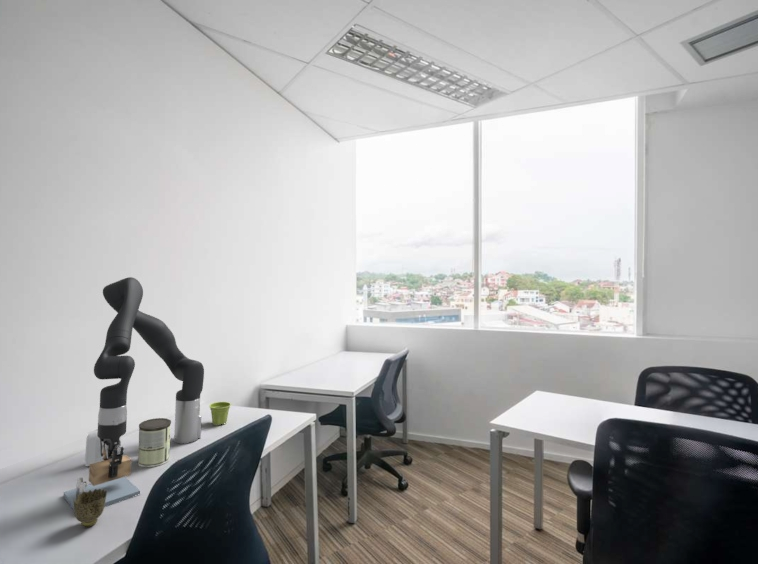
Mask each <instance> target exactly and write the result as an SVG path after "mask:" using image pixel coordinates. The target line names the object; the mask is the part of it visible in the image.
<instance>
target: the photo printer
mask: <svg viewBox="0 0 758 564" xmlns="http://www.w3.org/2000/svg"><path fill="white" fill-rule="evenodd" d="M87 433H88V435H86V440H85V454H84V455H85V459H84V466H85V467H90V464H93V463H97V462H101V461H104V460H103V459H102V458H103V456H102V457H101V448H100V438H99V437H98V436H97V433H98V428H97V429H94V430H91V431H89V432H87ZM119 440H120V441H121V437H120V438H119Z"/></svg>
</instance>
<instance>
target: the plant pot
mask: <svg viewBox="0 0 758 564" xmlns="http://www.w3.org/2000/svg"><path fill="white" fill-rule="evenodd" d="M231 405H232V404H231V402H227V401H217V402H212V403H210V404H209V406H208V407H209V408H210V411H211V412H210V414H211V420H212V425H214V426H220V425H221V424H224V423H226V422H227V421H228V416H229V410H230V408H231ZM227 423H228V422H227ZM227 423H226V424H227ZM224 425H225V424H224ZM221 426H222V425H221Z"/></svg>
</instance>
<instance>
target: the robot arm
mask: <svg viewBox="0 0 758 564" xmlns="http://www.w3.org/2000/svg"><path fill="white" fill-rule="evenodd" d="M102 295H103V297H104V300H105V301H106V303H107V304H108V305H109V306H110V307H111V308H112V309H113V310H114V311H115V312H116V313H117V314H116V315H115V317H114V318H113V319H112V320H111V322H110V324H109V326H108V328H107V332H106V337H105V344H104V345H103V348H102V351H101V353H100V354H99V356H98V358H97V360H96V361H95V363H94V367H93V374H94V376H95V377H96V378H97V379H98V380H119V379H120V381H118V382H117V383H115V384H110V385H107V386H104V387H103V388H102V389H101V390H100V393H99V410H98V414H97V415H98V416H97V429H98V433H97V436H98V437H99V438H100V448H101V457H102V456H103V458H102V459H103V460H104V461H105V460H108V459H109V478H114V477H116V476H117V473H118V465H120V464H121V462H122V456H124V449H125V448H124V446H121V445H122V444H121V443H122V442H121V437H122V436H124V435H125V434H126V432H127V419H128V408H127V401H128V400H127V398H128V388H129V384H130V382H131V378H132V376H133V373H134V370H135V366H136V362H135V359H134V358H133V357H132V356H130V355H125V354H127V353H128V352H129V351H130V349H131V345H132V336H133V335H132V334H133V329H134V330H135V332H136V333H137V334H138V335H139V336H140V337H141V338H142V340H143V341H144V342H145V343H146V344H147V345H148V347H150V348H151V350H153V352H155V354H157V356H158V357H159V358H160V359H161V360H162V361H163V362H164V363H165V364H166V366H167V368H168V369H169V370H170V372H171V374H172V375H173V377H175V379H177V380H179V381H180V382H182V384H181V385H182V386H181V389H179V390H178V391H176V393H175V406H174V407H175V408H174V409H175V410H174V411H175V413H174V431H173V432H174V433H173V441H174V443H176V444H179V445H180V444H183V443H184V444H190V443H189V442H191V443H194V442H196V441H197V440H199V439H198V438H200V439H202V438H201V437H202V415H201V413H200V411H201V394H202V393H203V392H202V391H203V390H204V389H203V388H204V379H205V369H204V365H203V364H202V362H201V361H198V360H194V359H191V358H188V357H187V356H186V355H184V353H183V352H182V351H181V350H180V349H179V347H178V346H177V341H176V338H175V335H174V333H173V332H172V330H171V329H170V328H169V327H168V325H166V323H165V322H164V321H162V320H161V319H159V318H157V317H155V316H152V315H150V314H147V313H145V312H143V311H140V310H139V309H140V307H141V303H142V300H143V296H144V290H143V286H142V284H141V283H140V281H139V280H138V279H137V278H135V277H132V276H130V277H126V278H122V279H120V280H118V281H114V282H113V283H109V284H107V285H106V286H104V287H103V288H102ZM119 438H120V440H119ZM195 440H196V441H195ZM193 441H194V442H193ZM115 460H116V461H115Z"/></svg>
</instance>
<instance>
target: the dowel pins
mask: <svg viewBox="0 0 758 564" xmlns="http://www.w3.org/2000/svg"><path fill="white" fill-rule="evenodd" d="M75 481H76V483H75V484H76V485H75V486H76V487H75V488H76V498H77V495H78V494H81V493H82V492H83V491H84V492H86V485H87V481H84V478H83V477H78V478H77V479H76V480H75Z"/></svg>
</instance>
